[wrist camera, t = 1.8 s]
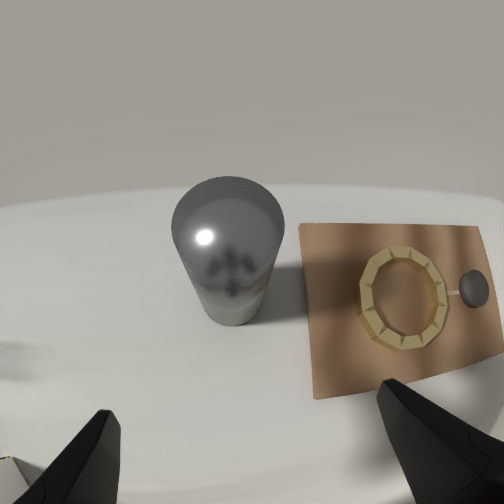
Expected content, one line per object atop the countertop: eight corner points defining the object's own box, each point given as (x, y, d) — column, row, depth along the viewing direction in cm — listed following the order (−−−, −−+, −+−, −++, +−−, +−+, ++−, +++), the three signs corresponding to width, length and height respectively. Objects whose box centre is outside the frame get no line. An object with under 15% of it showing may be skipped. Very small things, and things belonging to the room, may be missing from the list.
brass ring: (452, 313, 22) (460, 310, 21) (389, 371, 20) (397, 370, 19) (404, 236, 25) (410, 230, 24) (335, 281, 23) (340, 277, 22)
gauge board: (473, 229, 27) (483, 222, 25) (499, 352, 22) (510, 350, 20) (298, 227, 26) (302, 217, 24) (313, 398, 20) (320, 400, 19)
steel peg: (271, 308, 23) (306, 243, 12) (219, 337, 22) (201, 297, 11) (242, 260, 24) (249, 162, 13) (192, 285, 23) (155, 203, 12)
